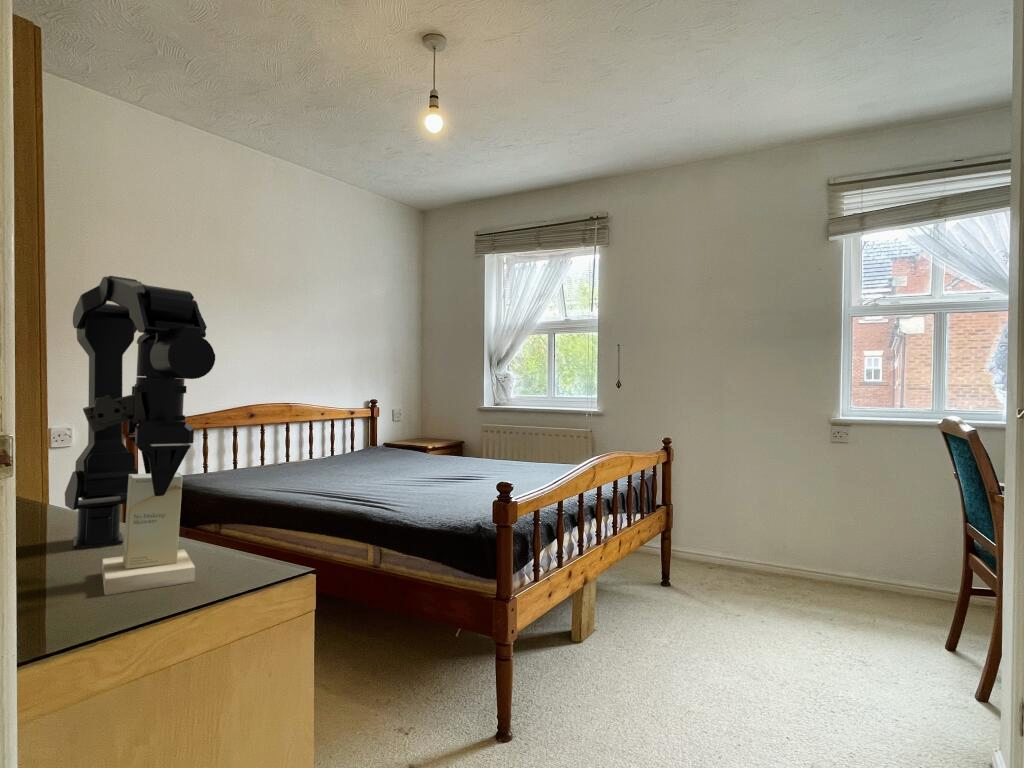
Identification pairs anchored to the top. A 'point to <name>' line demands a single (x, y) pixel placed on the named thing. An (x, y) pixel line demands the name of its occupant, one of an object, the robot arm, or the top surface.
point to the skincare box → (151, 522)
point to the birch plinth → (145, 574)
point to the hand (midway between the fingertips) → (155, 490)
